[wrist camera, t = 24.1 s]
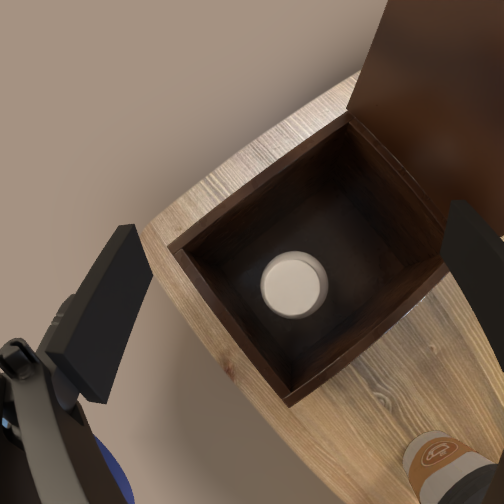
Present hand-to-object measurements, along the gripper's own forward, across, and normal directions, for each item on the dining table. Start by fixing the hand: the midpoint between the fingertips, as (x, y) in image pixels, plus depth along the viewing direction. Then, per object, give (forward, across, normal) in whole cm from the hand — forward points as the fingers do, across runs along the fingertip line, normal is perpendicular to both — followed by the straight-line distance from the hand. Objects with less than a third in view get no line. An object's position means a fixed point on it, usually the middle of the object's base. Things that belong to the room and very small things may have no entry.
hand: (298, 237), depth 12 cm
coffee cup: (-1, +15, -30) cm, 34 cm away
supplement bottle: (+14, 0, -14) cm, 20 cm away
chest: (+15, +2, -14) cm, 21 cm away
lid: (+4, +10, +5) cm, 12 cm away
